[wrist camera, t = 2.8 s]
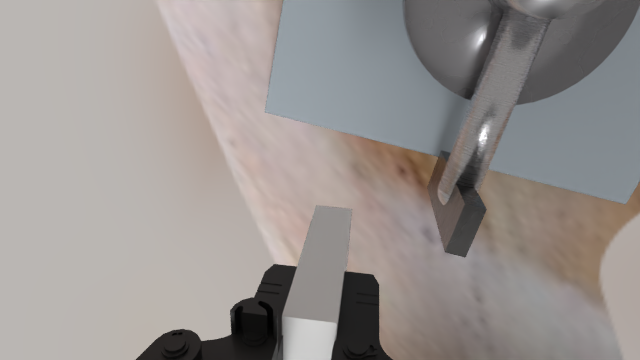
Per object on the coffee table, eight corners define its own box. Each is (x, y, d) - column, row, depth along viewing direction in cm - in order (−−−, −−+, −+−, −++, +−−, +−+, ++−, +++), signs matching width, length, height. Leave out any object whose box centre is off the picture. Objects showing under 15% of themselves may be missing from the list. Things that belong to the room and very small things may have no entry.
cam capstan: (480, -297, 16) (552, -517, 9) (733, -243, 16) (995, -433, 9) (352, 166, 24) (342, 225, 18) (516, 208, 24) (569, 285, 17)
